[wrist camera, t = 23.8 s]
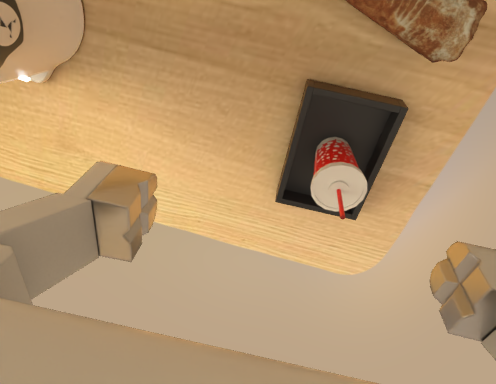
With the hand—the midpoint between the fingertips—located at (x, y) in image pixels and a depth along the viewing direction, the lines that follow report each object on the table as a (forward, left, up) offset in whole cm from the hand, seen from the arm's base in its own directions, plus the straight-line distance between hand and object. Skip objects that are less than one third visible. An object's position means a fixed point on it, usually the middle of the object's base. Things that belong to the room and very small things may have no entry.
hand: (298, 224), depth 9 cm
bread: (+6, +5, -34) cm, 35 cm away
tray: (+7, -13, -34) cm, 37 cm away
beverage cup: (+8, -13, -34) cm, 37 cm away
